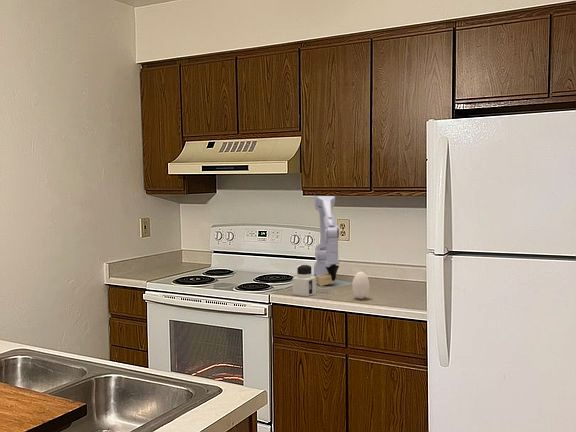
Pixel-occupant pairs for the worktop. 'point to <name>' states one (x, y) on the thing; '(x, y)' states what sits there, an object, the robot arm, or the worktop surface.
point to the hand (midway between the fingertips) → (332, 280)
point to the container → (304, 281)
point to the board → (337, 282)
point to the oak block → (324, 279)
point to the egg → (360, 285)
